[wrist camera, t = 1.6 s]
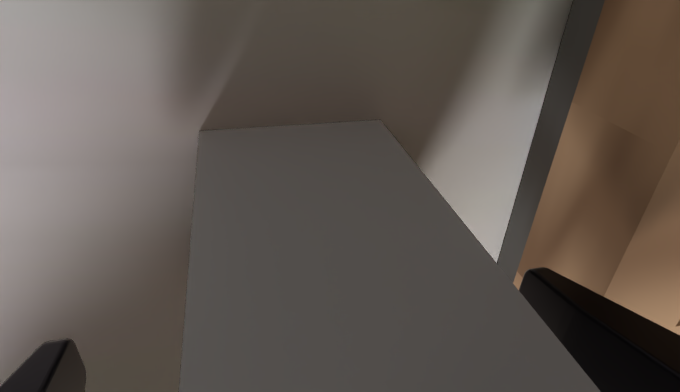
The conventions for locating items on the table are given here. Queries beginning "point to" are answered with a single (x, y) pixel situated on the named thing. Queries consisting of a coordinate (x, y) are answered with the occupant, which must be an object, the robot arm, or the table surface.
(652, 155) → the socket block
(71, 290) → the table surface
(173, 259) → the table surface
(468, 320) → the plug
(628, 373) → the robot arm
